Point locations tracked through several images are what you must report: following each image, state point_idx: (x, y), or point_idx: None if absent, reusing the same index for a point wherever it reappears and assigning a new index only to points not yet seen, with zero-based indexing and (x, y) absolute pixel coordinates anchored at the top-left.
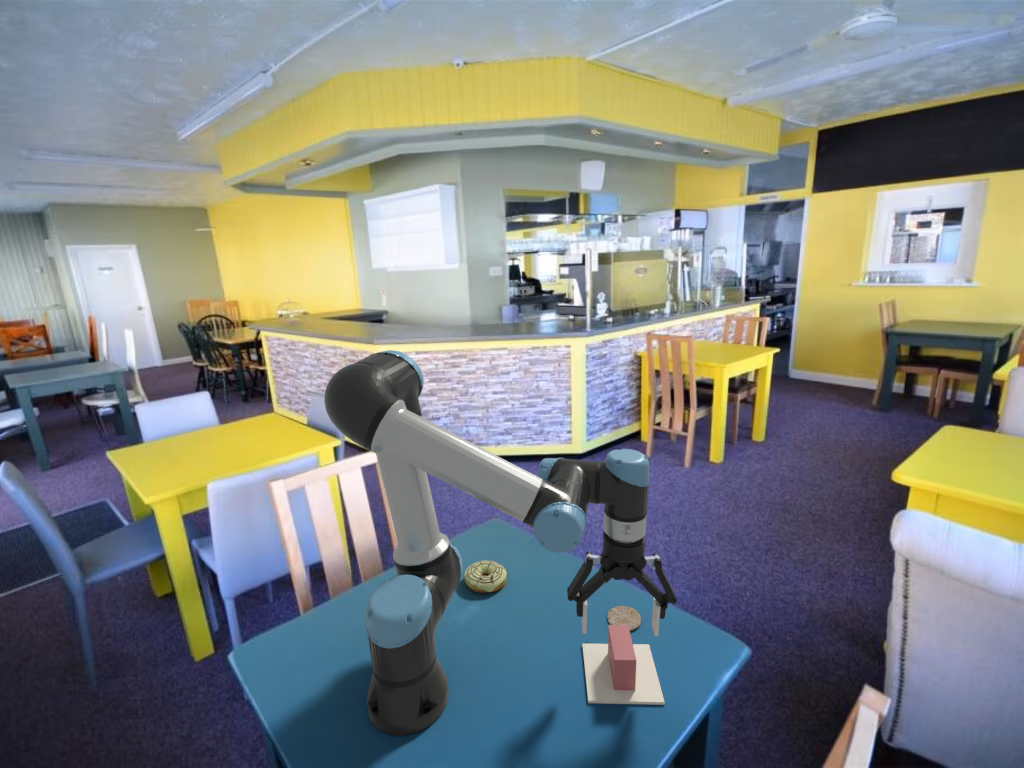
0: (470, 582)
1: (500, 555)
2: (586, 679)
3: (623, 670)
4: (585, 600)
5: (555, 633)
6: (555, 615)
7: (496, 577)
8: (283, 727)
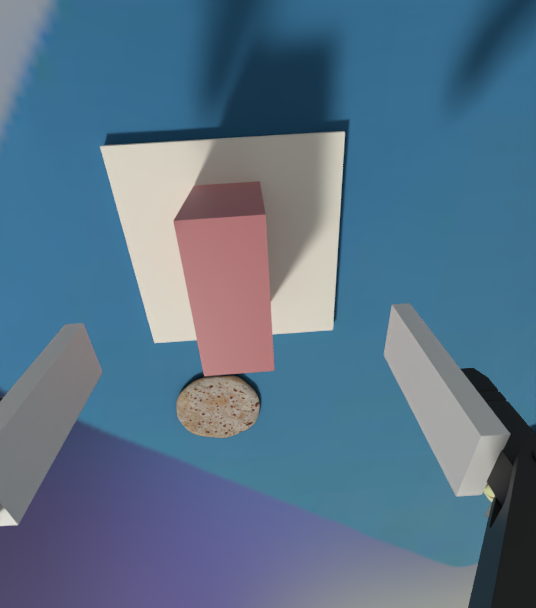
0: None
1: (471, 518)
2: (338, 213)
3: (229, 203)
4: (517, 472)
5: None
6: (383, 400)
7: None
8: None
